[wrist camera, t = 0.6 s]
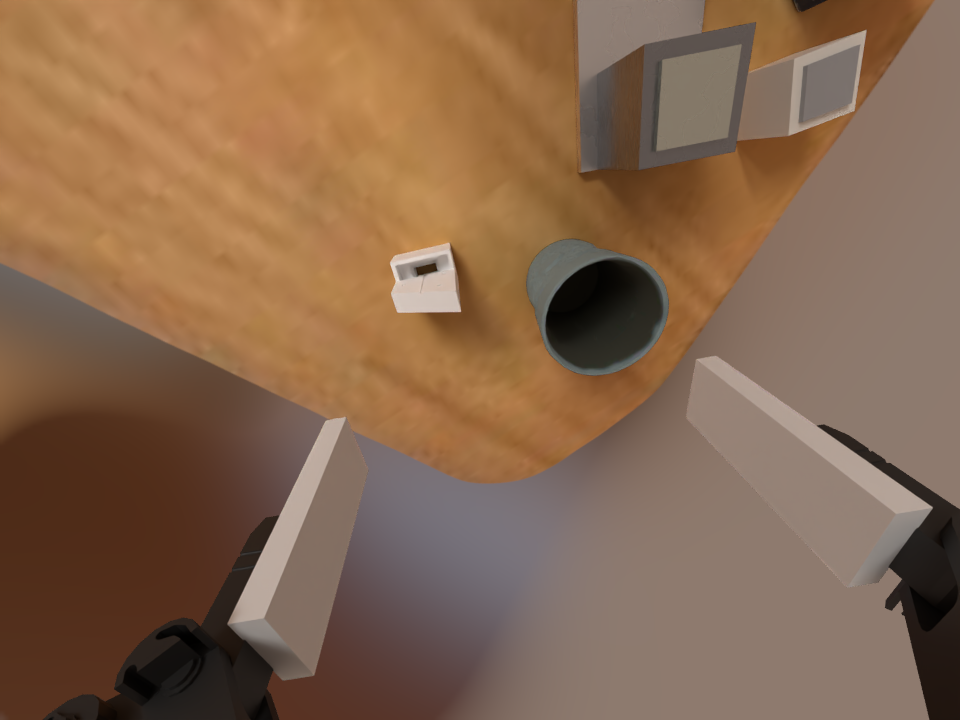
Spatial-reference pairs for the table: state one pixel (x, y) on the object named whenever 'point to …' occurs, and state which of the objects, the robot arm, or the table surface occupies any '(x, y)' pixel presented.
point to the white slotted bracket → (426, 281)
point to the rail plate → (617, 42)
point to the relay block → (802, 89)
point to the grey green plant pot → (596, 306)
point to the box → (806, 4)
